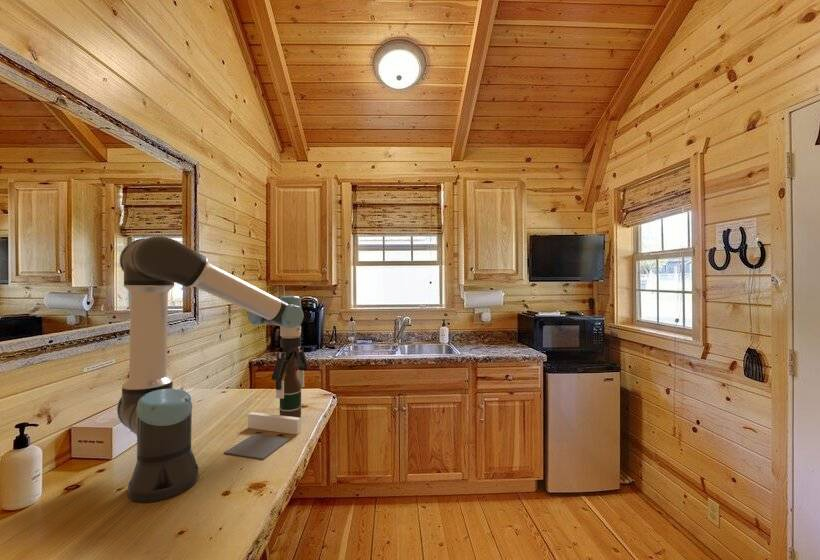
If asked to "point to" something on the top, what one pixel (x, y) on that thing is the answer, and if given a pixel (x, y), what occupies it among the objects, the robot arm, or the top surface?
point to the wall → (274, 423)
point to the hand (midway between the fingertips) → (290, 392)
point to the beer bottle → (291, 393)
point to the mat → (258, 446)
